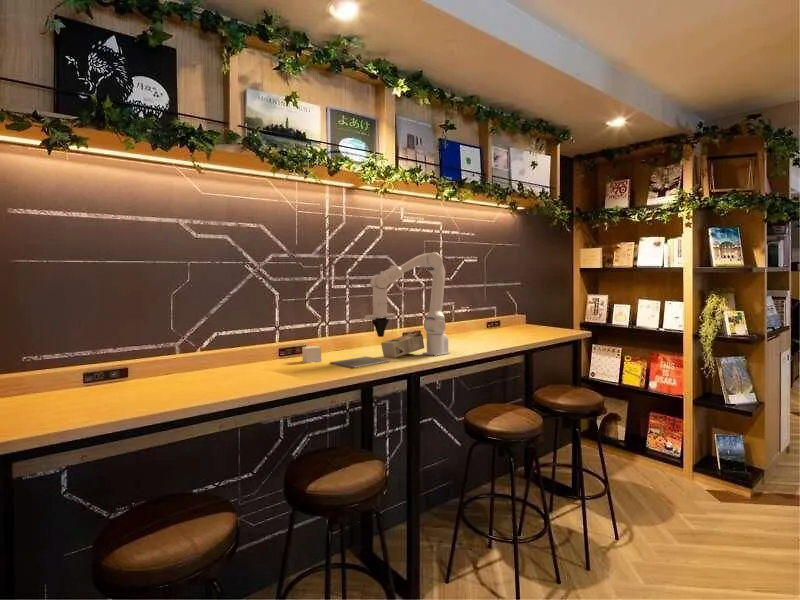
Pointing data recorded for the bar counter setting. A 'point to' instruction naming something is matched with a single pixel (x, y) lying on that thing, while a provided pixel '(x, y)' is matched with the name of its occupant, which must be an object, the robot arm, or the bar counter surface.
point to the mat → (359, 362)
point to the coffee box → (402, 345)
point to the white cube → (311, 354)
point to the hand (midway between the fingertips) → (380, 336)
